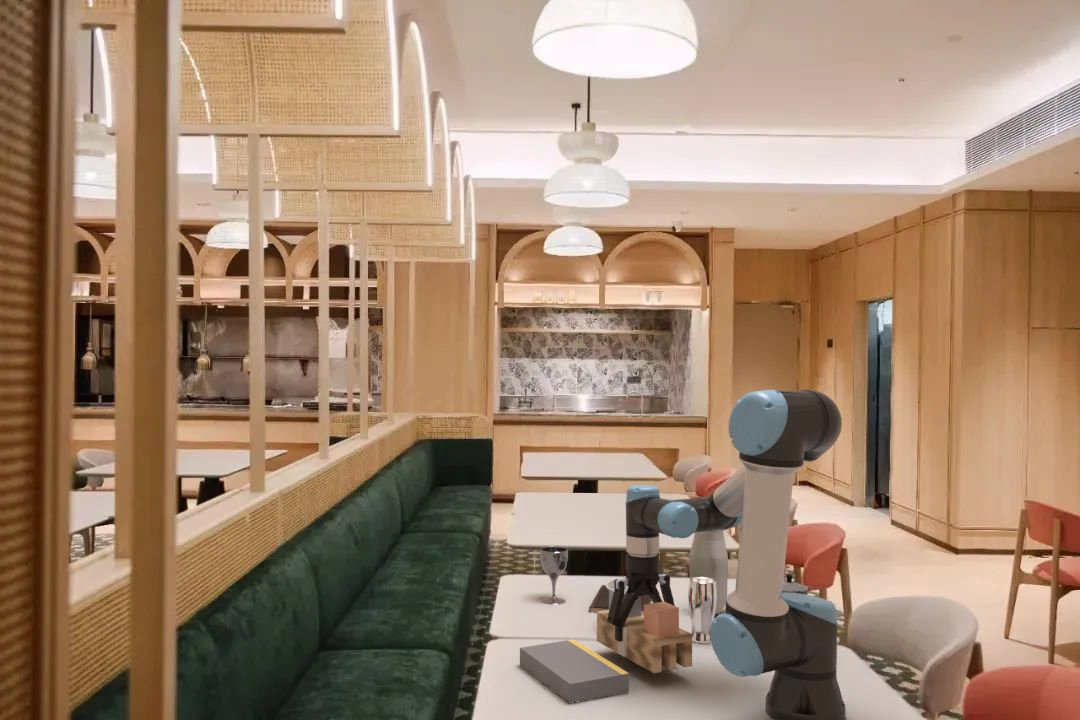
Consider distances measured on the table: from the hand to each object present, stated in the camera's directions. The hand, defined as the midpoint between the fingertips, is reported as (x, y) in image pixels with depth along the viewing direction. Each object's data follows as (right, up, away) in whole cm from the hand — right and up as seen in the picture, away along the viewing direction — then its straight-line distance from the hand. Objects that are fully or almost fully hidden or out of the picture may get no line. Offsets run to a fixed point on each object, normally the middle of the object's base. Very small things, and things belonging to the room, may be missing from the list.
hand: (642, 651), depth 195 cm
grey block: (-3, +7, +7) cm, 10 cm away
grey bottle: (+23, -4, +41) cm, 47 cm away
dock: (-16, -3, -8) cm, 18 cm away
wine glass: (-19, -3, +52) cm, 56 cm away
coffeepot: (+37, -4, +12) cm, 40 cm away
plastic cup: (-1, -4, +27) cm, 27 cm away
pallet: (0, 0, 0) cm, 0 cm away
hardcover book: (0, -4, +51) cm, 51 cm away
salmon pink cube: (+3, +7, -7) cm, 10 cm away
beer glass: (+17, -4, +19) cm, 26 cm away
